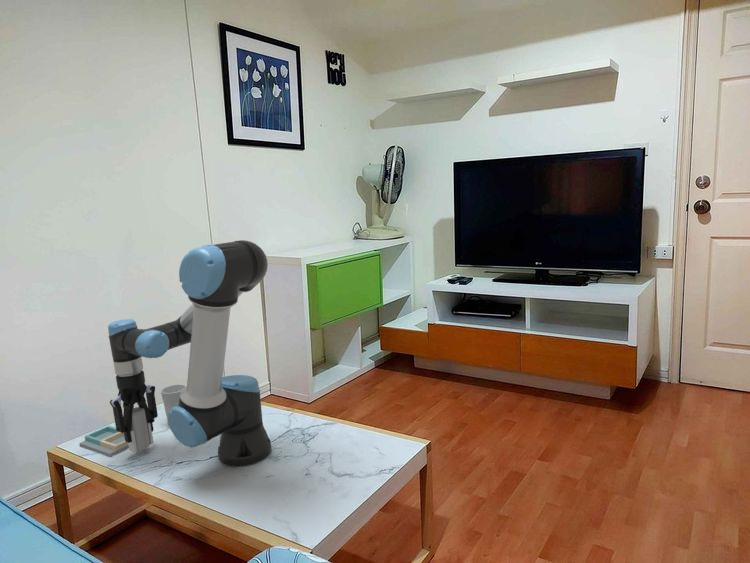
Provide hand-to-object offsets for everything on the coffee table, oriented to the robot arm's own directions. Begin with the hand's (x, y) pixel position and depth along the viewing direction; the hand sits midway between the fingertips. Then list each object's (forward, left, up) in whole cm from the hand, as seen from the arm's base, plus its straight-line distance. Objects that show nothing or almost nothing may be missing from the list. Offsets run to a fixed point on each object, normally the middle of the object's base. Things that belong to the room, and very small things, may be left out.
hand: (141, 446), depth 160 cm
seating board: (+15, 0, -2) cm, 15 cm away
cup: (+8, -19, -2) cm, 21 cm away
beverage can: (0, 0, -1) cm, 1 cm away
